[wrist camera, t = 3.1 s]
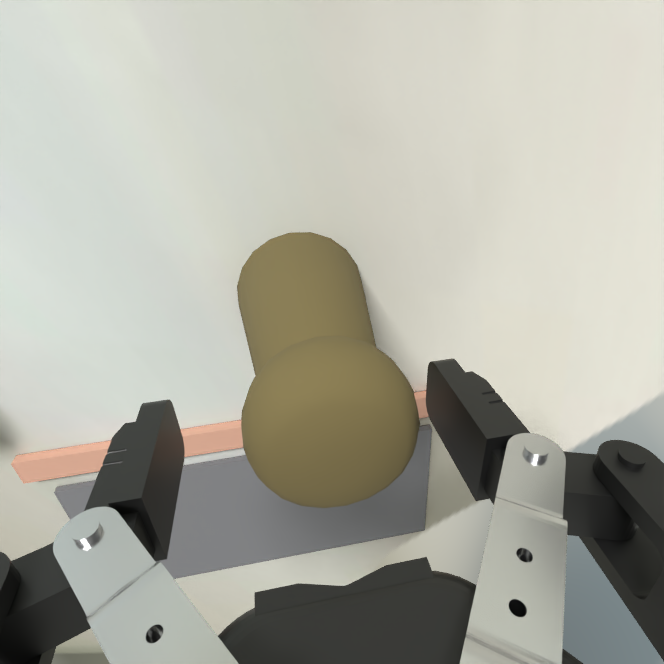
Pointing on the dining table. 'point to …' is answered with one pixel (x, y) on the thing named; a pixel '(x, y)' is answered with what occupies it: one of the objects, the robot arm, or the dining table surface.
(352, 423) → the cork
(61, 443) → the dining table surface
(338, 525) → the mat
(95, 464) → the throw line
